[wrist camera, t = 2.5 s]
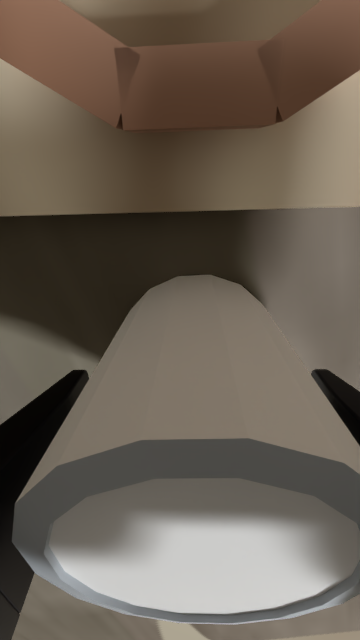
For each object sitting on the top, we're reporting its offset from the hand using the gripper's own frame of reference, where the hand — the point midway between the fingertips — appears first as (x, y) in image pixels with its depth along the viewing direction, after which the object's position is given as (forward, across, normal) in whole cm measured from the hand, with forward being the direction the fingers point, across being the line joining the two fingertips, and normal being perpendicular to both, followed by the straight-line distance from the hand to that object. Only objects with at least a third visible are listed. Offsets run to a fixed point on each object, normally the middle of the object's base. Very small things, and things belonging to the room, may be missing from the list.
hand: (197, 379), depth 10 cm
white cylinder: (+2, 0, 0) cm, 2 cm away
